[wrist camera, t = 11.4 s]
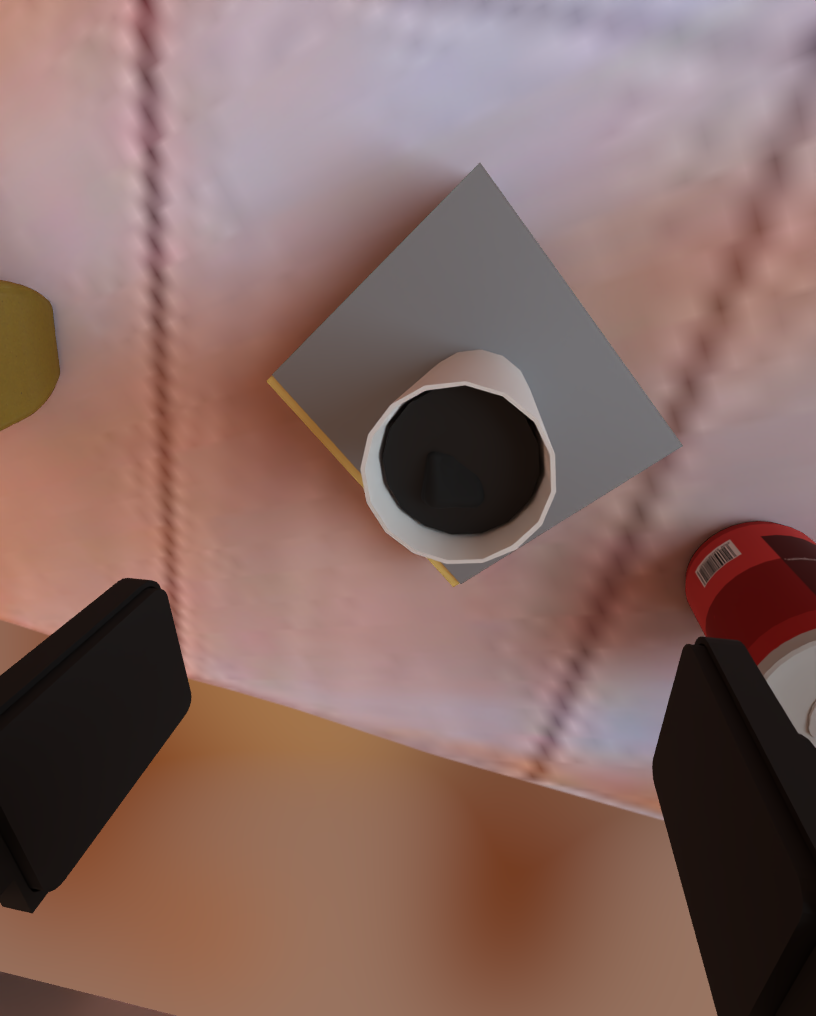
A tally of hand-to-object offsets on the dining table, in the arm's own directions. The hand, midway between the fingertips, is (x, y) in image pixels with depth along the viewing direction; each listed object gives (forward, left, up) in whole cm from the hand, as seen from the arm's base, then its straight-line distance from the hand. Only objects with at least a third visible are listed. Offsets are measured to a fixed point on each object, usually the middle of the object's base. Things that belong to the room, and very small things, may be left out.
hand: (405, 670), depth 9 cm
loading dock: (0, 0, -24) cm, 24 cm away
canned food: (-20, -6, -24) cm, 32 cm away
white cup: (0, 0, -19) cm, 19 cm away
